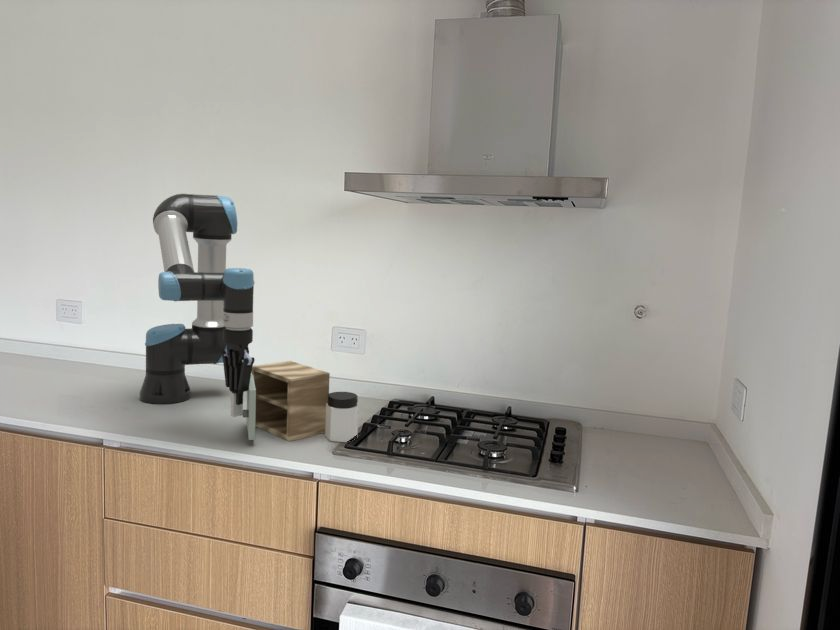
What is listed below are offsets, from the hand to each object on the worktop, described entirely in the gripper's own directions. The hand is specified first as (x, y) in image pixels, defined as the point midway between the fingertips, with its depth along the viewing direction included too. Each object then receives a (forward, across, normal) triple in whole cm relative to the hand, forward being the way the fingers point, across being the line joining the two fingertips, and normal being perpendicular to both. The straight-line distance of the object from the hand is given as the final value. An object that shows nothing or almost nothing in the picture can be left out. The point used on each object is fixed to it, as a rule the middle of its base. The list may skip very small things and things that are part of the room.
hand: (236, 415), depth 177 cm
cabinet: (+7, 0, +17) cm, 18 cm away
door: (+5, -1, +4) cm, 7 cm away
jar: (+7, +16, +23) cm, 29 cm away
